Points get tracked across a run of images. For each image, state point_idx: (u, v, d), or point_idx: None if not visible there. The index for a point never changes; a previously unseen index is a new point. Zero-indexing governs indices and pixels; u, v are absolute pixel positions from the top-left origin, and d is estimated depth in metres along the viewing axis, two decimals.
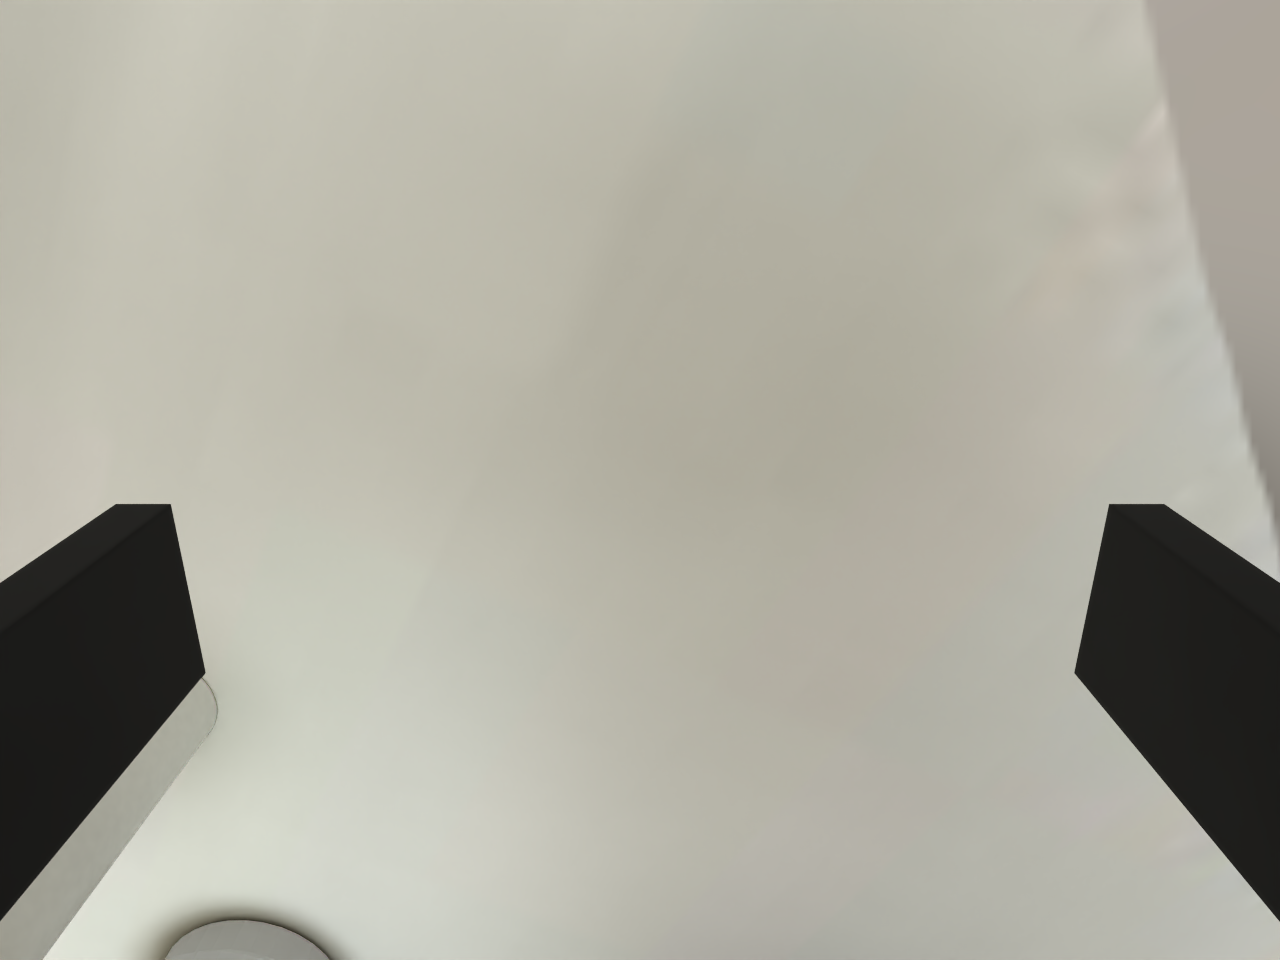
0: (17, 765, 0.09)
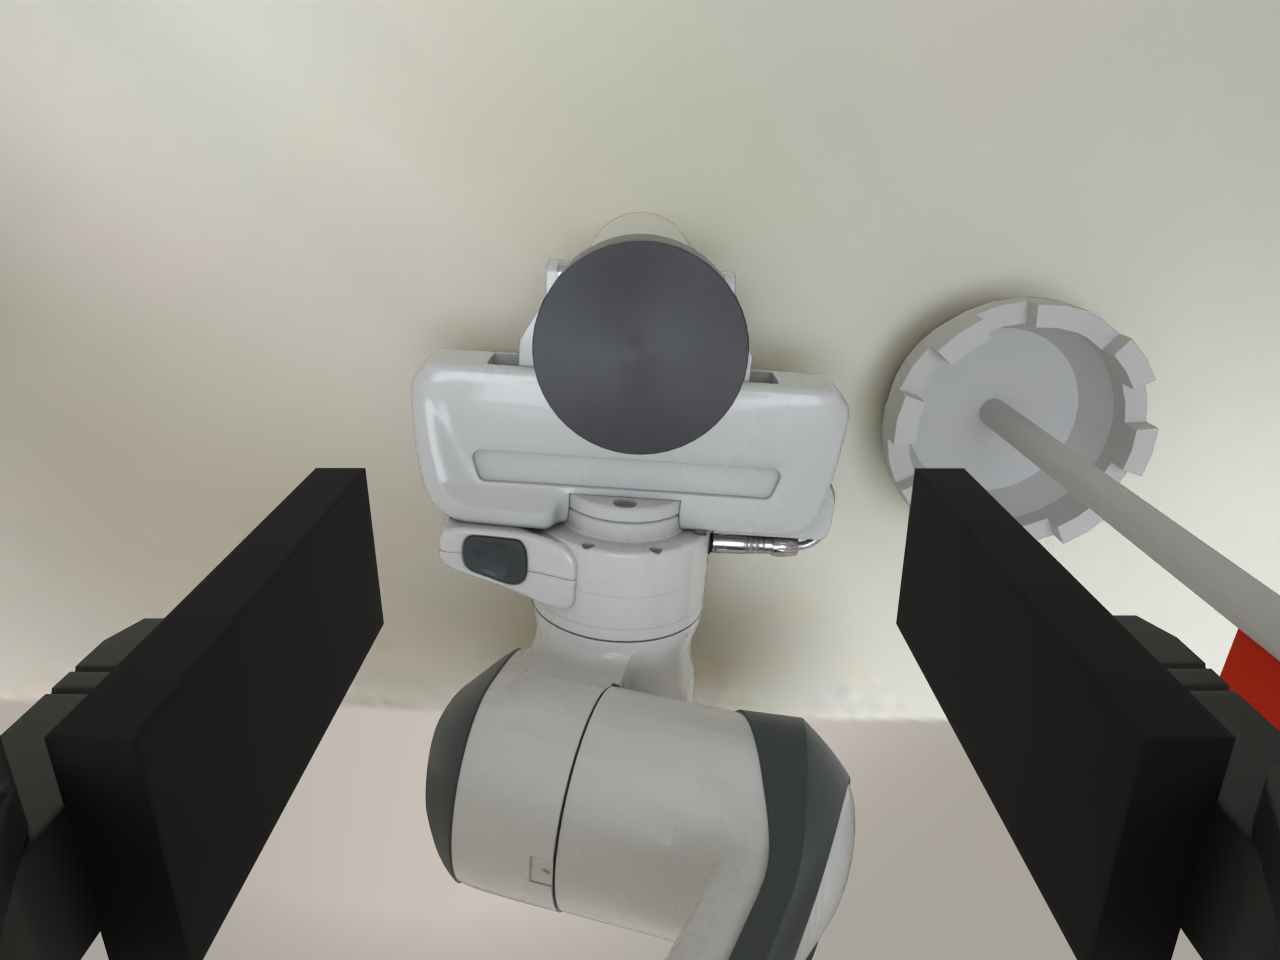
0: (287, 685, 0.10)
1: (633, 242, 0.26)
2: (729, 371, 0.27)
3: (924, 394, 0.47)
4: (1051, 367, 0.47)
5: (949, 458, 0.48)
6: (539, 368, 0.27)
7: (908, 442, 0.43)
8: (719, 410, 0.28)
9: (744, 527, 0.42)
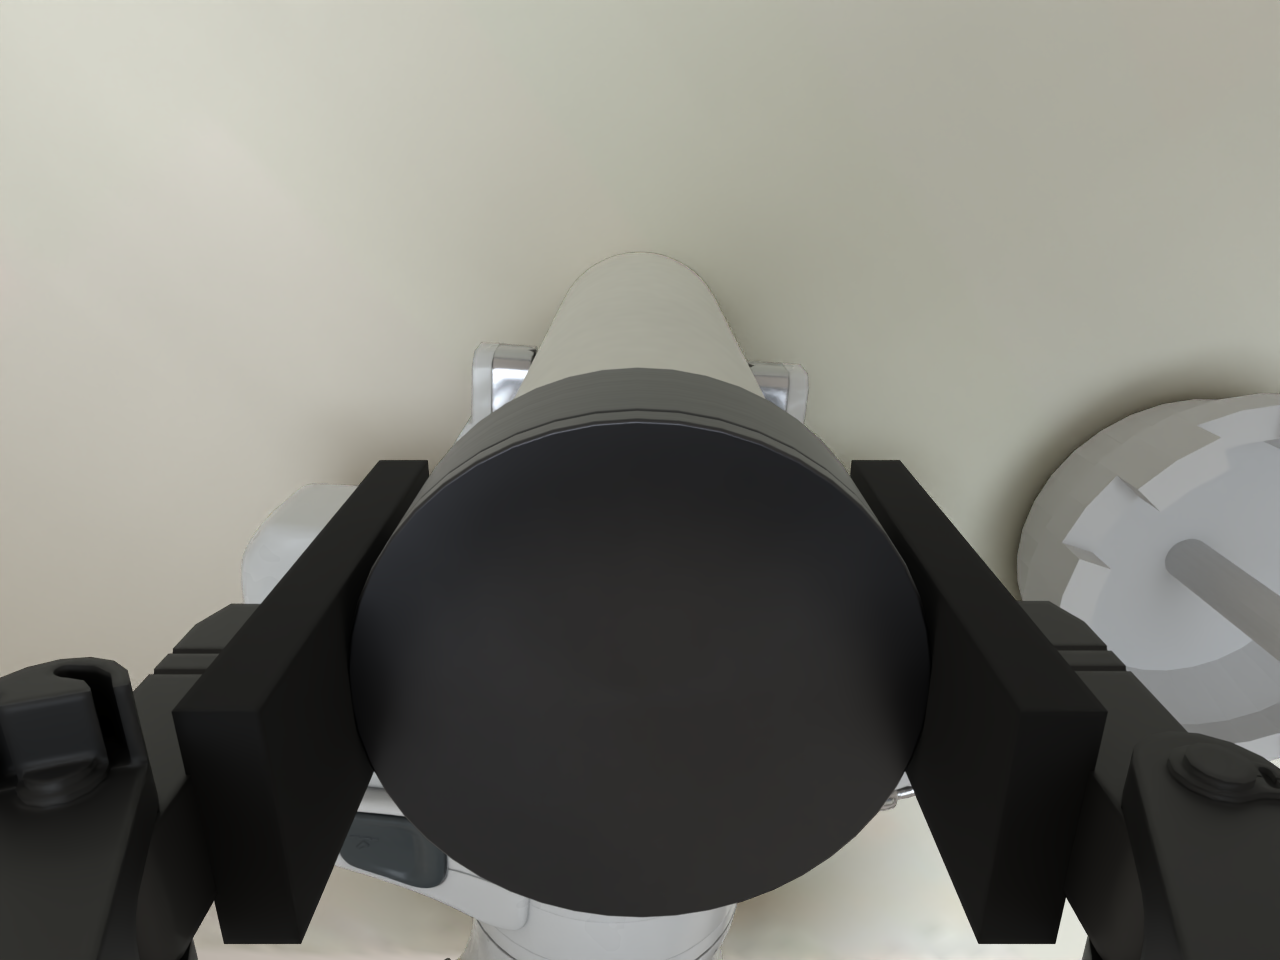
0: None
1: (619, 423, 0.09)
2: (875, 741, 0.10)
3: None
4: None
5: (1113, 625, 0.32)
6: (371, 734, 0.10)
7: None
8: (843, 826, 0.11)
9: None
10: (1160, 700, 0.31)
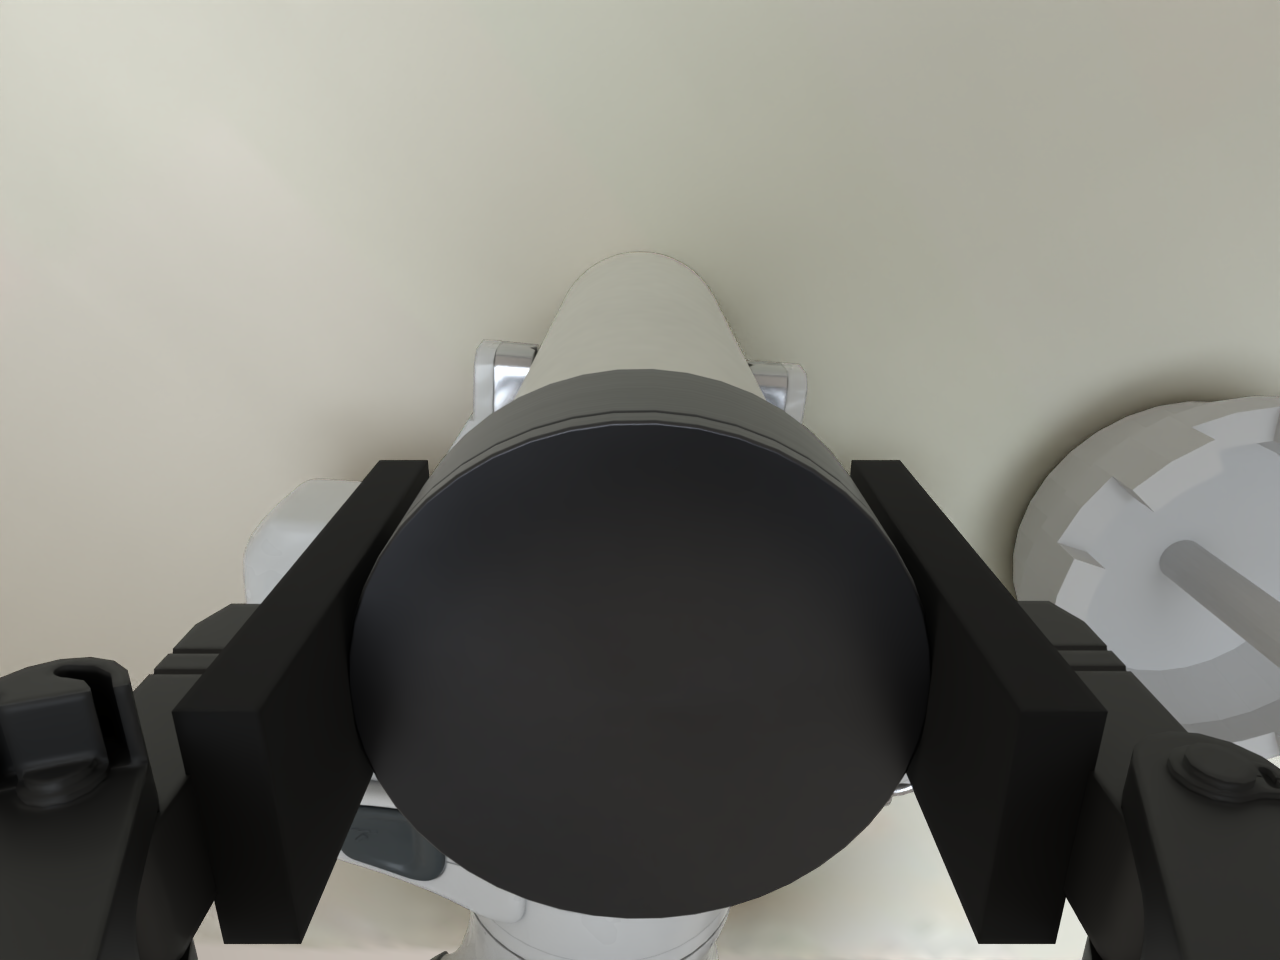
0: None
1: (352, 636, 0.10)
2: (775, 504, 0.09)
3: None
4: (1278, 494, 0.30)
5: (1108, 625, 0.32)
6: (599, 907, 0.11)
7: None
8: (875, 559, 0.09)
9: None
10: None
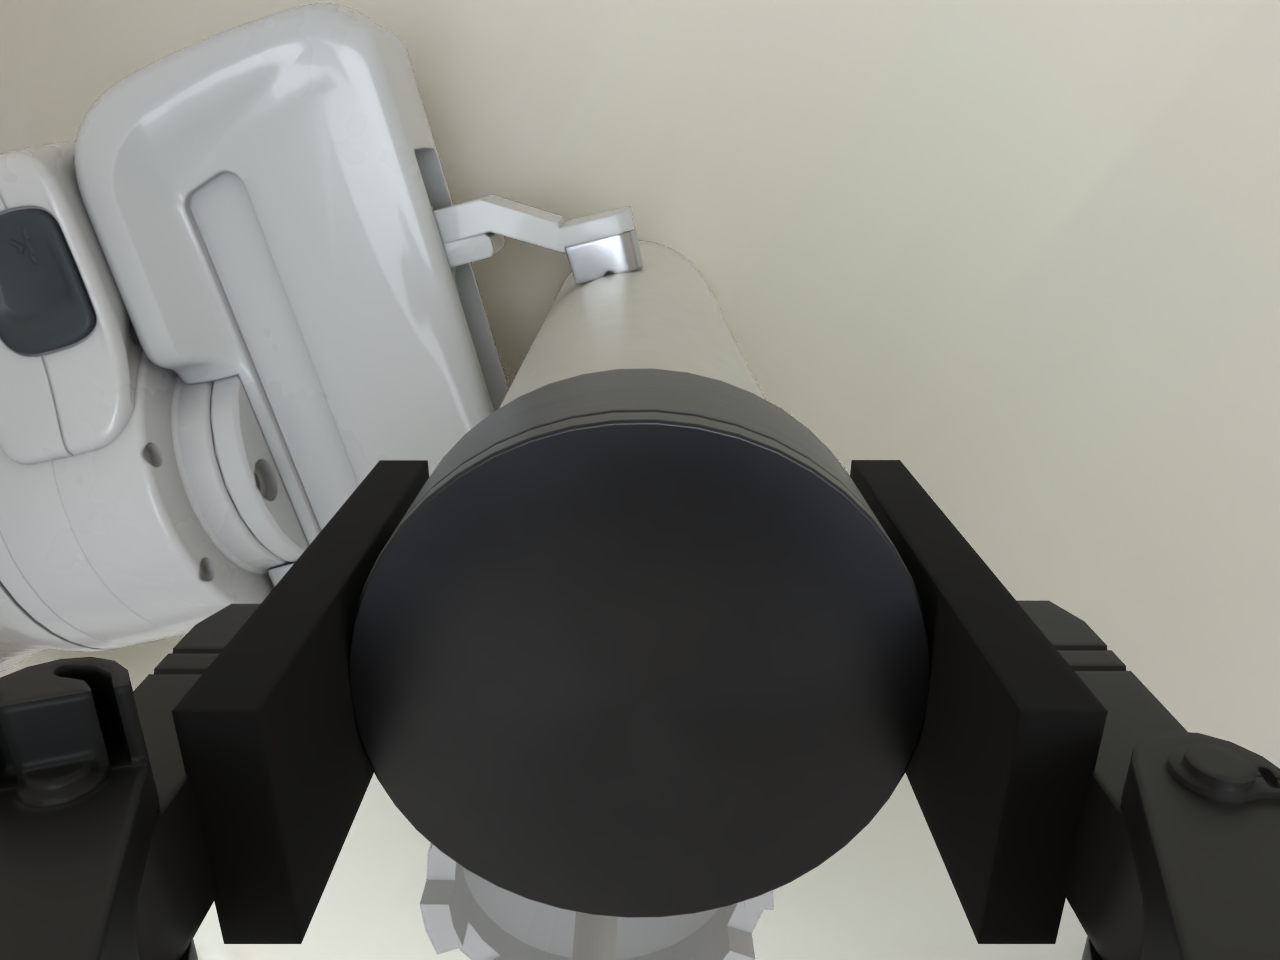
0: None
1: (353, 635, 0.10)
2: (775, 503, 0.09)
3: None
4: None
5: None
6: (599, 906, 0.11)
7: None
8: (875, 558, 0.09)
9: None
10: None
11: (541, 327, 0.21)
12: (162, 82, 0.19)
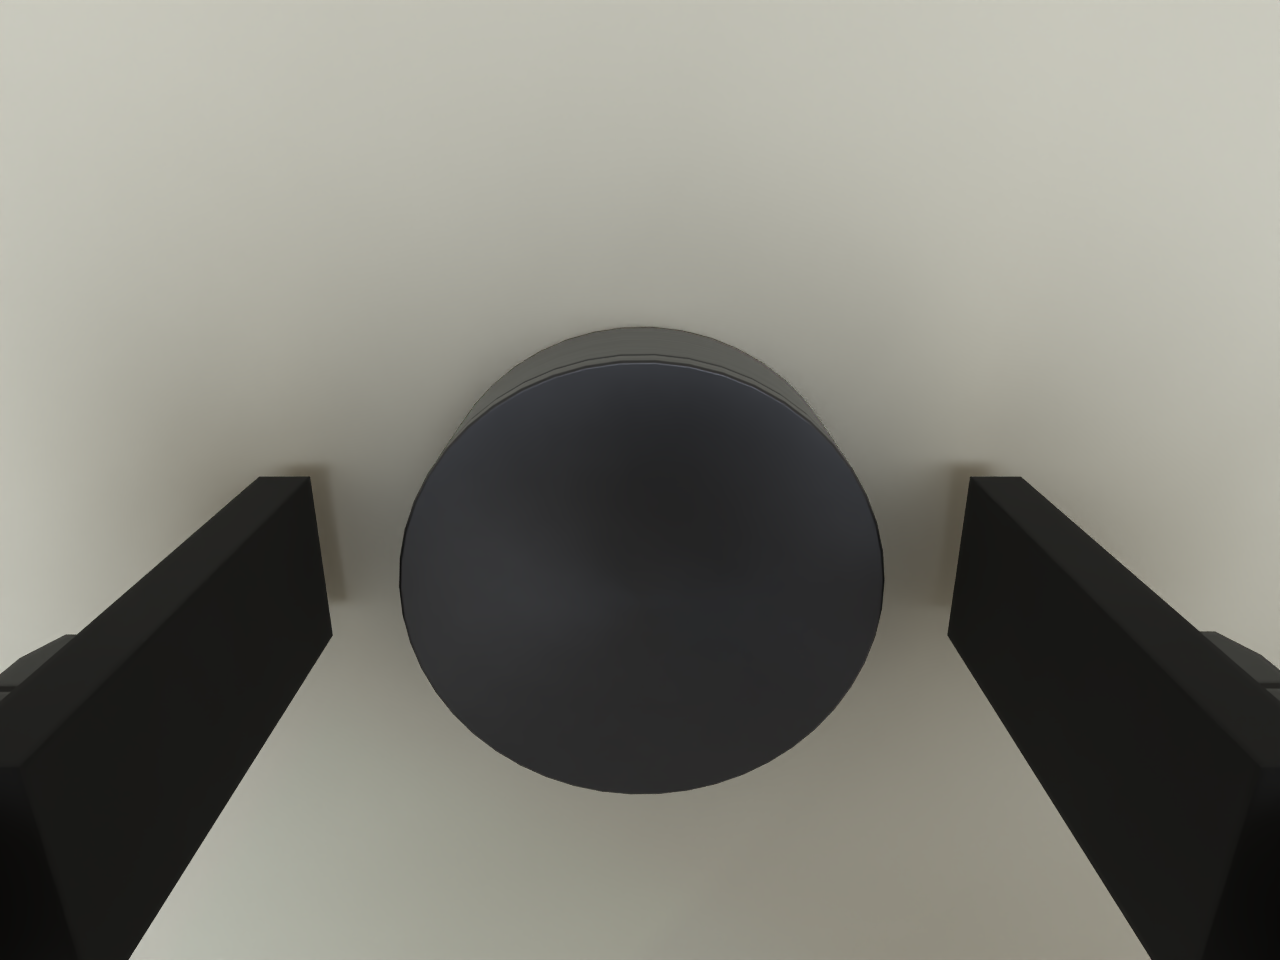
0: (213, 704, 0.10)
1: (404, 543, 0.12)
2: (753, 430, 0.11)
3: None
4: None
5: None
6: (607, 783, 0.13)
7: None
8: (835, 477, 0.11)
9: None
10: None
11: None
12: None
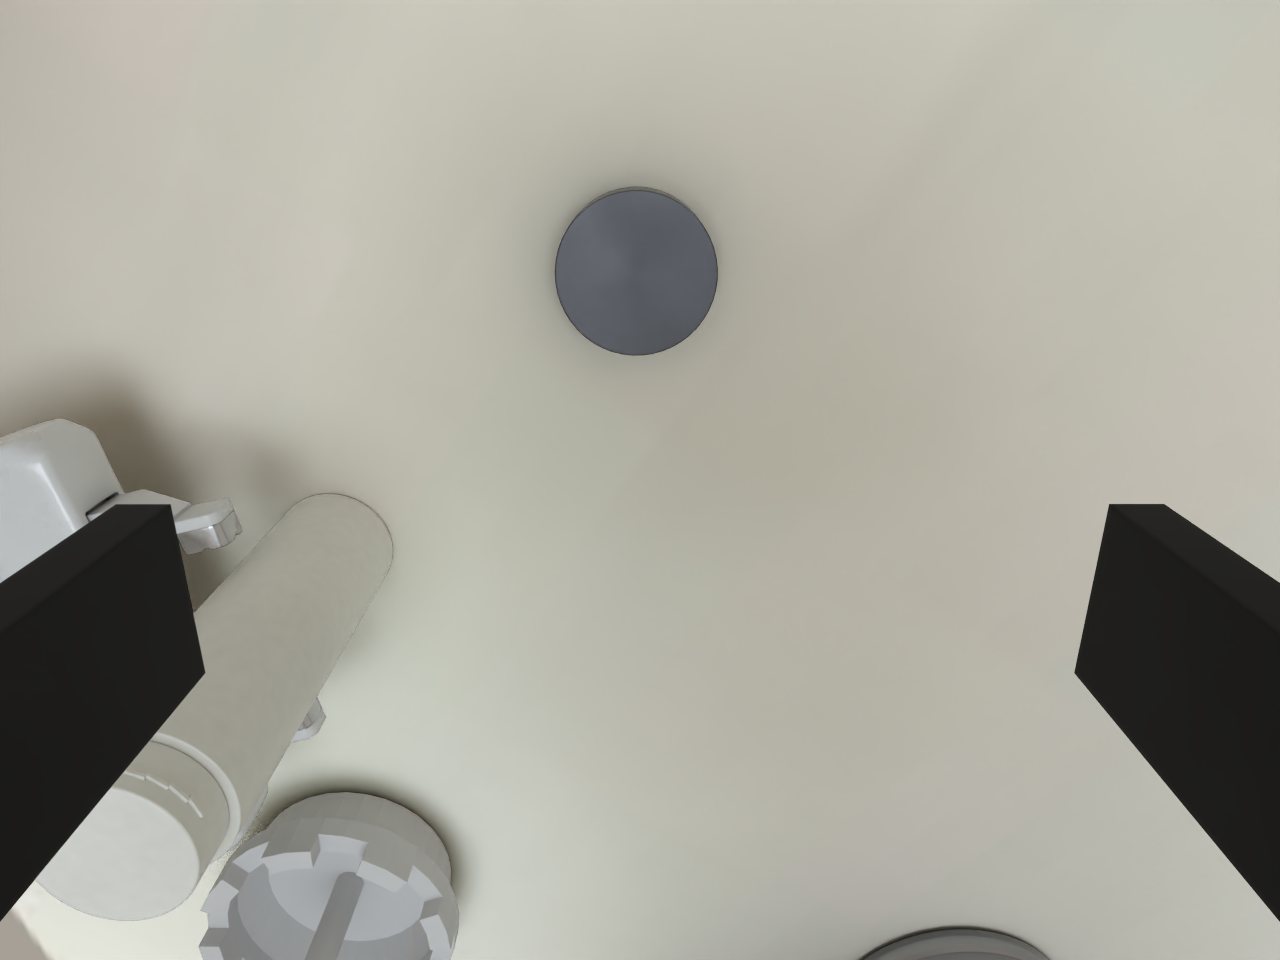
0: (17, 765, 0.09)
1: (557, 254, 0.36)
2: (671, 214, 0.35)
3: None
4: (410, 906, 0.50)
5: None
6: (624, 350, 0.37)
7: (269, 868, 0.43)
8: (699, 230, 0.35)
9: None
10: (256, 912, 0.49)
11: None
12: None
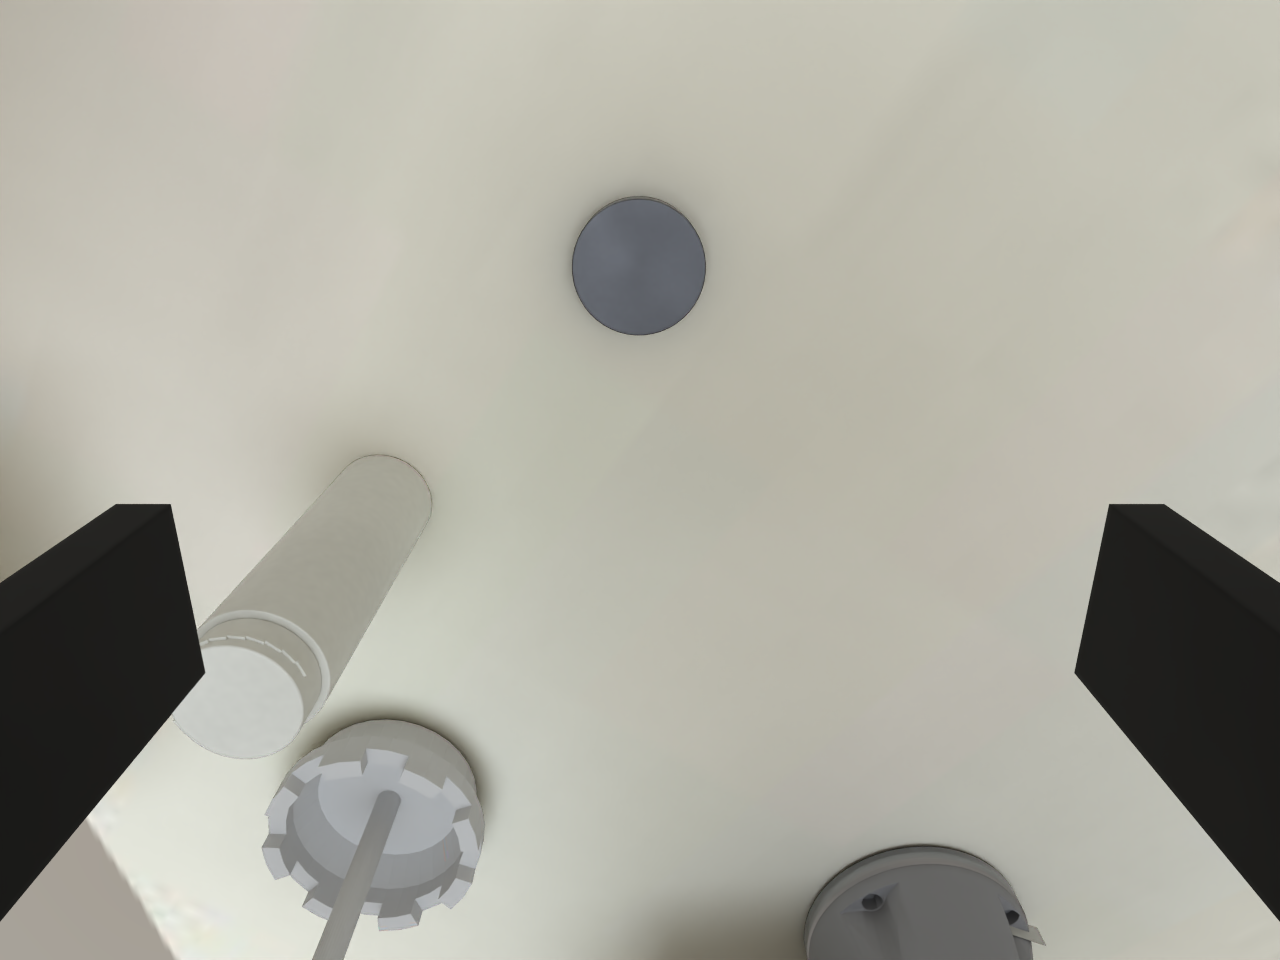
0: (17, 765, 0.09)
1: (574, 251, 0.43)
2: (667, 218, 0.43)
3: None
4: (440, 822, 0.57)
5: (338, 785, 0.56)
6: (628, 331, 0.45)
7: (325, 776, 0.51)
8: (690, 231, 0.43)
9: None
10: (308, 825, 0.56)
11: None
12: None
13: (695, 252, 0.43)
